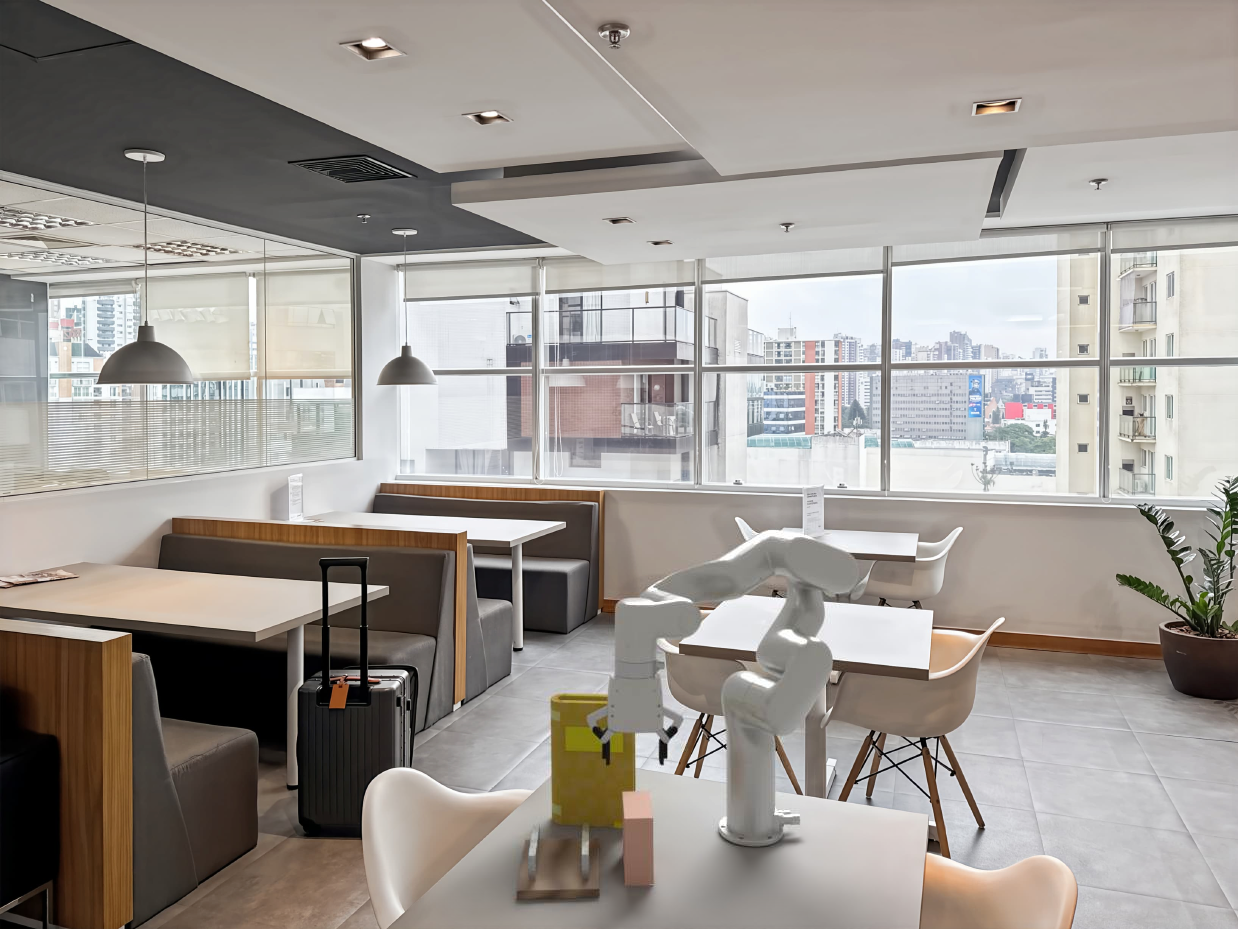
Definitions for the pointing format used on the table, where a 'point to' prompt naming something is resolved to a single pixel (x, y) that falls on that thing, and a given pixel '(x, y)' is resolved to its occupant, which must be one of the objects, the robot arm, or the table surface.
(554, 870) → the shelf board
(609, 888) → the table surface
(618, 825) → the book
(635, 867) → the small book
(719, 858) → the table surface
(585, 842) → the bookends
